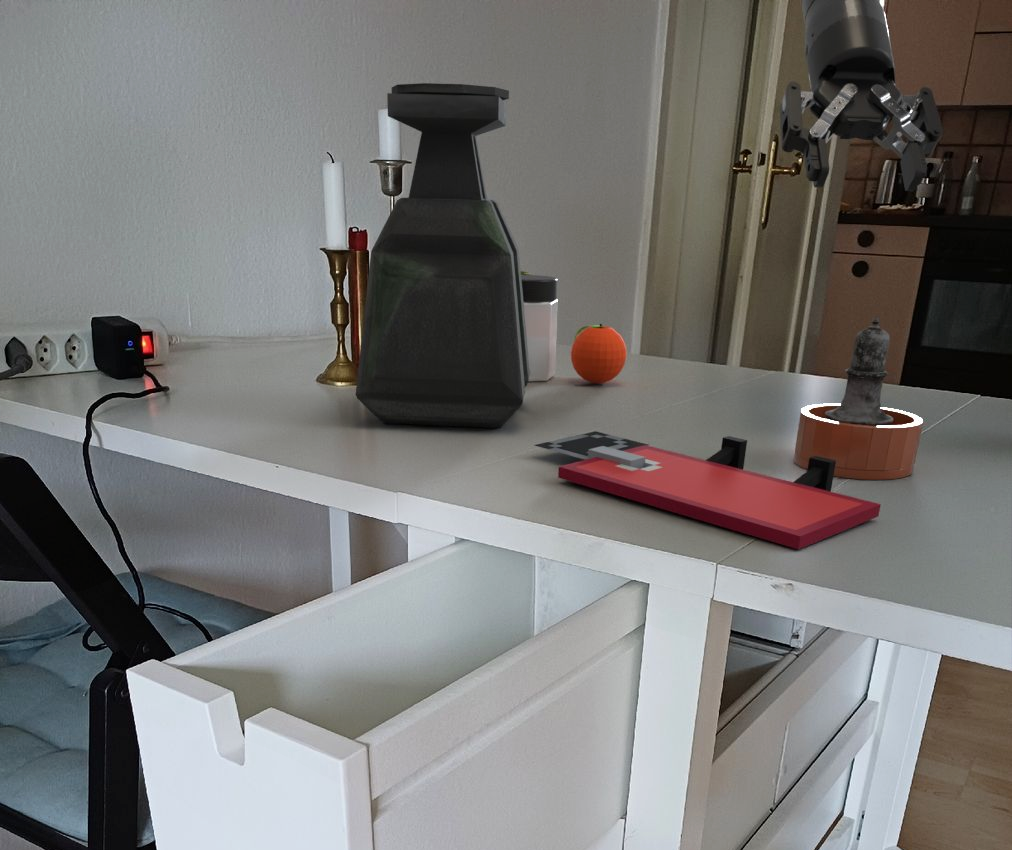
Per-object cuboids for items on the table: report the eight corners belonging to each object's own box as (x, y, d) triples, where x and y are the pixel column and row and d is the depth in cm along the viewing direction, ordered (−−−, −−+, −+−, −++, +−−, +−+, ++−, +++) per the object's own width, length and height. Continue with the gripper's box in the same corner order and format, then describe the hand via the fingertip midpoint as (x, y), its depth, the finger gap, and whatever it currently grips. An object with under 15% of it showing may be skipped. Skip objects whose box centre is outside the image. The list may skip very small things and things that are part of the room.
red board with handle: (607, 438, 98) (495, 464, 88) (609, 408, 96) (495, 432, 87) (900, 512, 79) (797, 555, 69) (908, 477, 77) (803, 516, 68)
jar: (474, 375, 130) (475, 275, 125) (517, 369, 136) (520, 273, 131) (526, 385, 125) (529, 281, 120) (568, 378, 130) (573, 278, 125)
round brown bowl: (886, 452, 97) (896, 405, 95) (931, 481, 88) (942, 428, 86) (779, 450, 96) (786, 402, 95) (813, 478, 87) (822, 426, 85)
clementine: (552, 380, 129) (554, 321, 126) (589, 375, 133) (593, 318, 130) (598, 389, 123) (602, 328, 120) (635, 384, 128) (640, 325, 125)
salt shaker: (805, 450, 93) (826, 312, 88) (857, 446, 95) (881, 312, 90) (846, 465, 88) (871, 321, 83) (900, 461, 90) (928, 320, 85)
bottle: (521, 435, 99) (533, 81, 86) (355, 428, 100) (342, 77, 87) (529, 401, 115) (540, 99, 102) (386, 395, 116) (379, 95, 103)
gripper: (786, 9, 93) (804, 145, 88) (937, 16, 94) (965, 151, 88) (762, 81, 100) (778, 211, 95) (903, 87, 101) (927, 216, 95)
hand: (868, 182), depth 92 cm, fingers open, 8 cm apart
